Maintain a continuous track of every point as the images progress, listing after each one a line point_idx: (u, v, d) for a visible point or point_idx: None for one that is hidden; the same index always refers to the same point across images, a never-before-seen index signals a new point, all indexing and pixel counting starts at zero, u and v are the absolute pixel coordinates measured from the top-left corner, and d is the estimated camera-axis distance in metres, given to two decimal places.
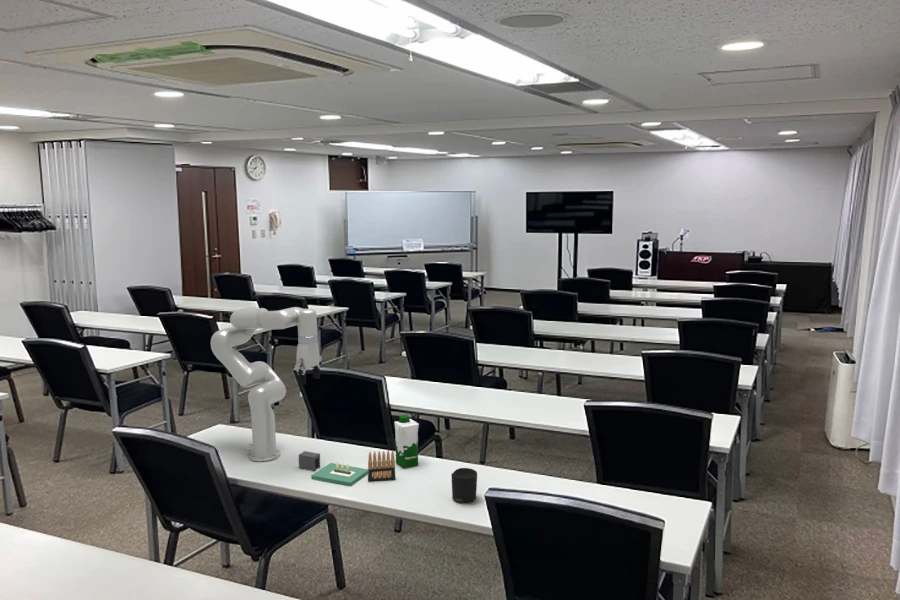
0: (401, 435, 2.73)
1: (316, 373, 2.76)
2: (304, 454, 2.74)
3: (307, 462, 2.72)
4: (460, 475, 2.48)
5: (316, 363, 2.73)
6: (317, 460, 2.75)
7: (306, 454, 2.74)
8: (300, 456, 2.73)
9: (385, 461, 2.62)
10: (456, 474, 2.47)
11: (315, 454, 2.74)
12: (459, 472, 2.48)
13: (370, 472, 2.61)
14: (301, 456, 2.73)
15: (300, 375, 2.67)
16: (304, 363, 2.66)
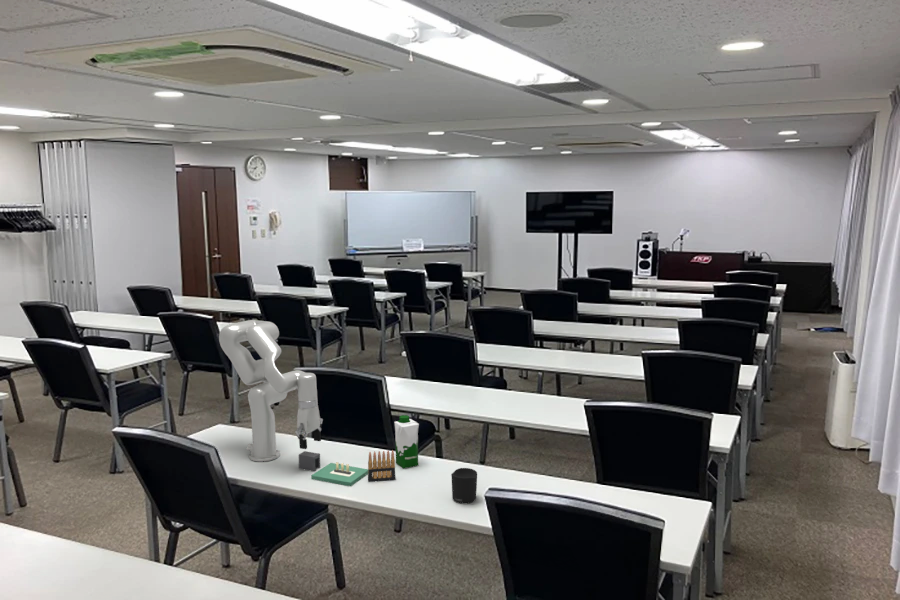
0: (401, 435, 2.73)
1: (317, 436, 2.77)
2: (304, 454, 2.74)
3: (307, 462, 2.72)
4: (460, 475, 2.48)
5: (317, 426, 2.74)
6: (317, 460, 2.75)
7: (306, 454, 2.74)
8: (300, 456, 2.73)
9: (385, 461, 2.62)
10: (456, 474, 2.47)
11: (315, 454, 2.74)
12: (459, 472, 2.48)
13: (370, 472, 2.61)
14: (301, 456, 2.73)
15: (301, 440, 2.67)
16: (305, 428, 2.67)
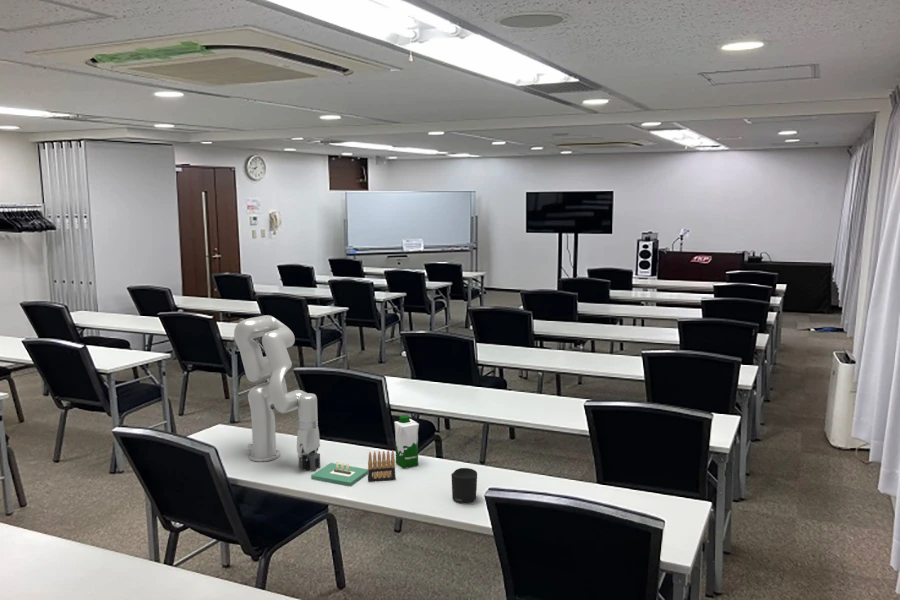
0: (401, 435, 2.73)
1: None
2: (304, 454, 2.74)
3: None
4: (460, 475, 2.48)
5: (316, 446, 2.75)
6: (317, 460, 2.75)
7: None
8: None
9: (385, 461, 2.62)
10: (456, 474, 2.47)
11: (315, 454, 2.74)
12: (459, 472, 2.48)
13: (370, 472, 2.61)
14: None
15: (304, 461, 2.71)
16: None
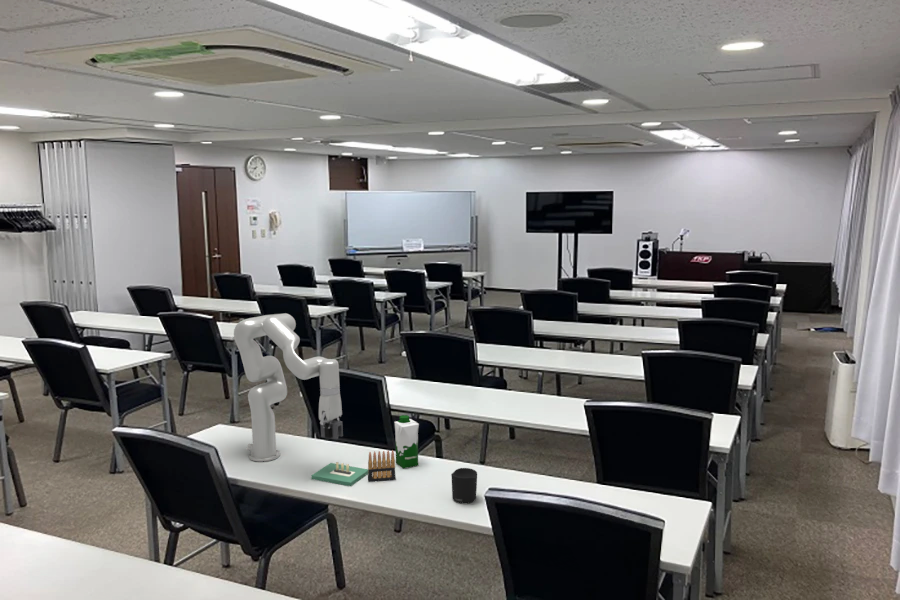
0: (401, 435, 2.73)
1: None
2: None
3: None
4: (460, 475, 2.48)
5: (339, 414, 2.67)
6: (340, 428, 2.66)
7: (328, 422, 2.65)
8: None
9: (385, 461, 2.62)
10: (456, 474, 2.47)
11: (337, 422, 2.66)
12: (459, 472, 2.48)
13: (370, 472, 2.61)
14: None
15: (326, 429, 2.63)
16: None
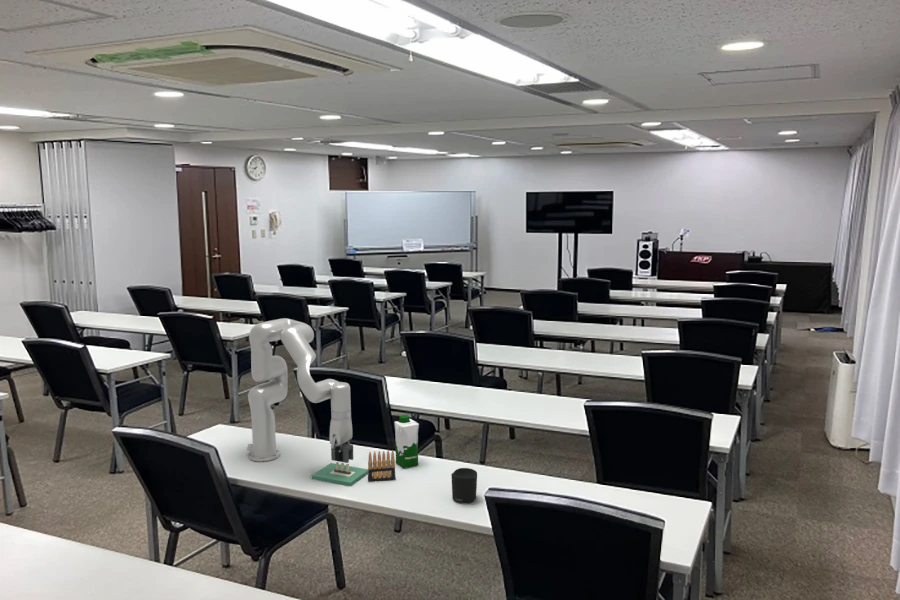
0: (401, 435, 2.73)
1: None
2: (337, 445, 2.64)
3: None
4: (460, 475, 2.48)
5: (349, 437, 2.66)
6: (350, 451, 2.65)
7: None
8: None
9: (385, 461, 2.62)
10: (456, 474, 2.47)
11: (348, 445, 2.64)
12: (458, 472, 2.48)
13: (370, 472, 2.61)
14: None
15: (337, 452, 2.62)
16: None
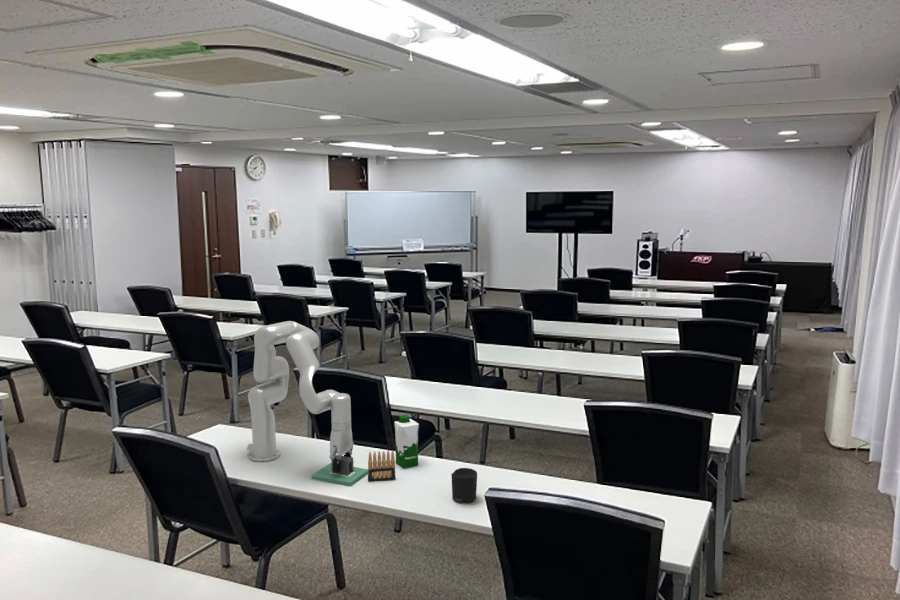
0: (401, 435, 2.73)
1: None
2: (337, 458, 2.65)
3: None
4: (460, 475, 2.48)
5: (349, 448, 2.66)
6: (350, 464, 2.66)
7: None
8: None
9: (385, 461, 2.62)
10: (456, 474, 2.47)
11: (348, 458, 2.65)
12: (459, 472, 2.48)
13: (370, 472, 2.61)
14: None
15: (335, 463, 2.61)
16: (338, 452, 2.60)
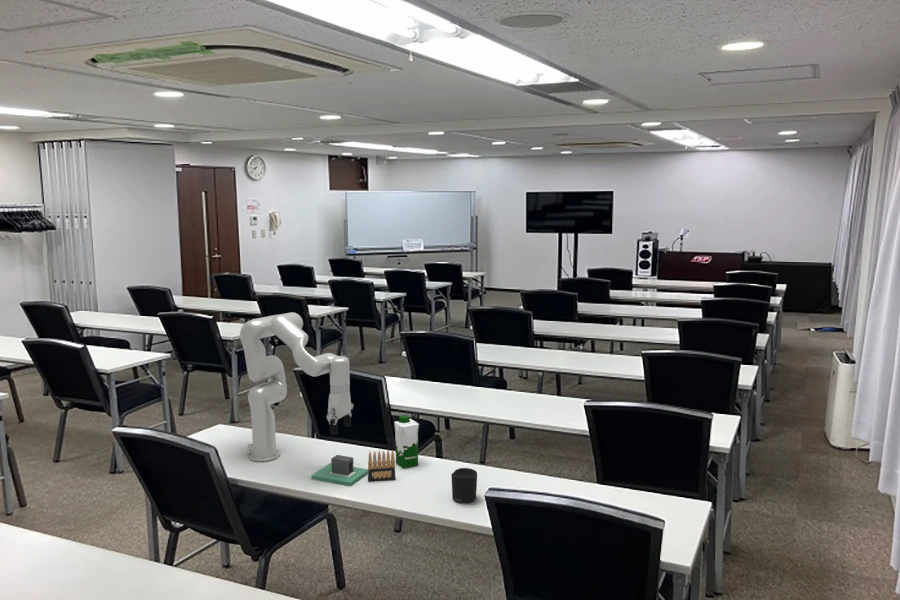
0: (401, 435, 2.73)
1: (347, 421, 2.69)
2: (337, 458, 2.65)
3: (340, 466, 2.64)
4: (460, 475, 2.48)
5: (348, 411, 2.65)
6: (350, 464, 2.66)
7: (339, 458, 2.65)
8: (333, 460, 2.65)
9: (385, 461, 2.62)
10: (456, 474, 2.47)
11: (348, 458, 2.65)
12: (459, 472, 2.48)
13: (370, 472, 2.61)
14: (334, 460, 2.65)
15: (332, 425, 2.59)
16: (336, 413, 2.59)
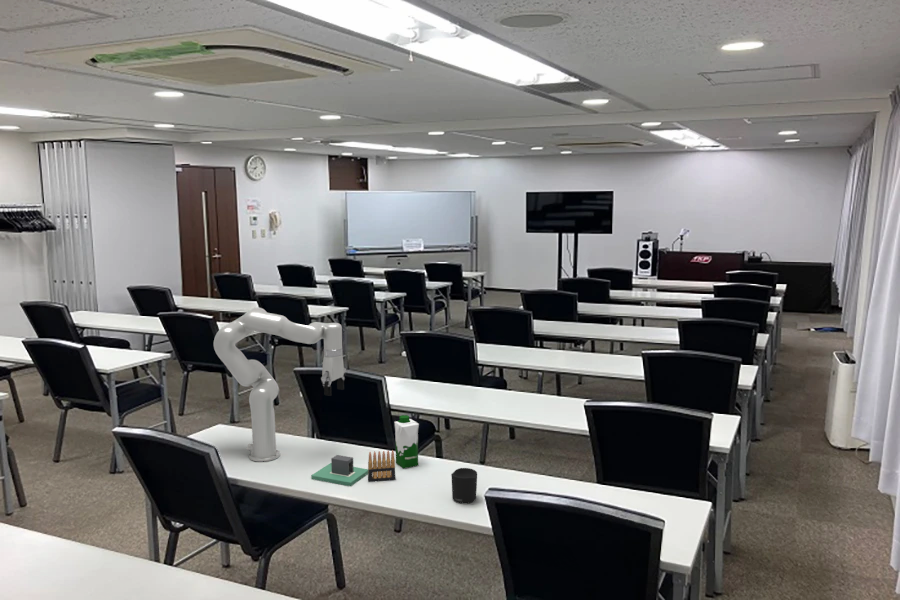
0: (401, 435, 2.73)
1: (340, 384, 2.87)
2: (337, 458, 2.65)
3: (340, 466, 2.64)
4: (460, 475, 2.48)
5: (341, 375, 2.84)
6: (350, 464, 2.66)
7: (339, 458, 2.65)
8: (333, 460, 2.65)
9: (385, 461, 2.62)
10: (456, 474, 2.47)
11: (348, 458, 2.65)
12: (459, 472, 2.48)
13: (370, 472, 2.61)
14: (334, 460, 2.65)
15: (326, 387, 2.77)
16: (330, 375, 2.77)
